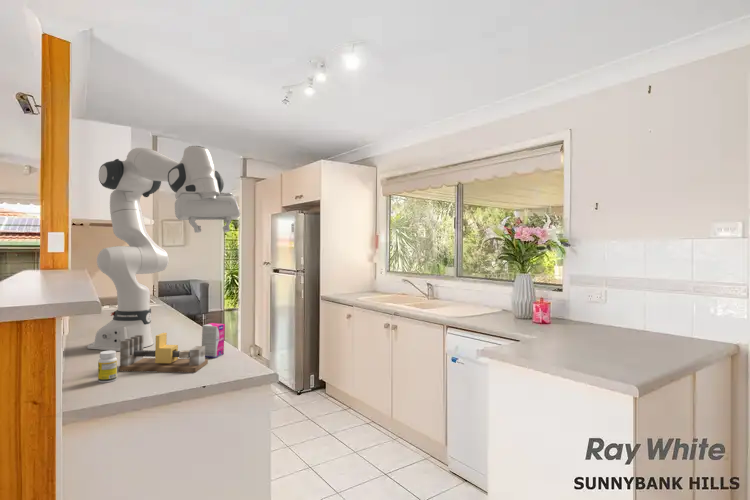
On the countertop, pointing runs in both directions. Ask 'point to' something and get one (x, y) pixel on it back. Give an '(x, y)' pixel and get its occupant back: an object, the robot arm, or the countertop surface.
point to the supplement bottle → (107, 367)
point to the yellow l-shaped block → (164, 350)
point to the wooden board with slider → (135, 362)
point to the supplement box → (213, 339)
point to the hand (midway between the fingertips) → (212, 231)
